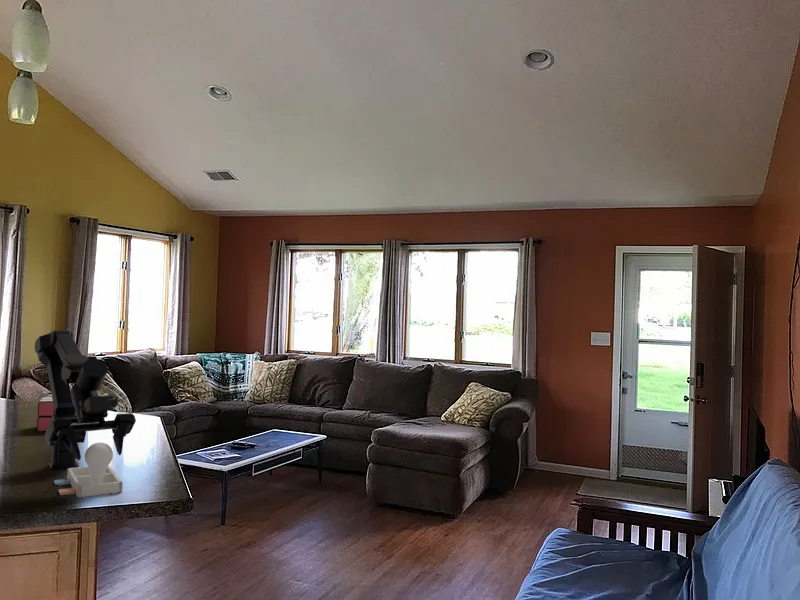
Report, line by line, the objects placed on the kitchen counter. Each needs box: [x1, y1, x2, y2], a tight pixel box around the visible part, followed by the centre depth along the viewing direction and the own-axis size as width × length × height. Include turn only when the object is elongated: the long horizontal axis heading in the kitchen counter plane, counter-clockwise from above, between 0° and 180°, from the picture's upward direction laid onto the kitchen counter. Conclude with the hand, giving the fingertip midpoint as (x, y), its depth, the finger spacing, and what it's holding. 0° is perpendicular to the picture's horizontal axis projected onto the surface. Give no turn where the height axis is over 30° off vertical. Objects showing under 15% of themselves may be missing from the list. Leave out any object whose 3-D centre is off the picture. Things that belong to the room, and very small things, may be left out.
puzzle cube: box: [36, 396, 74, 433], centre depth 223 cm, size 10×10×10 cm
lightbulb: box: [84, 442, 114, 485], centre depth 157 cm, size 6×6×11 cm
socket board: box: [53, 464, 123, 498], centre depth 159 cm, size 18×13×2 cm
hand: (100, 456), depth 156 cm, fingers open, 9 cm apart
